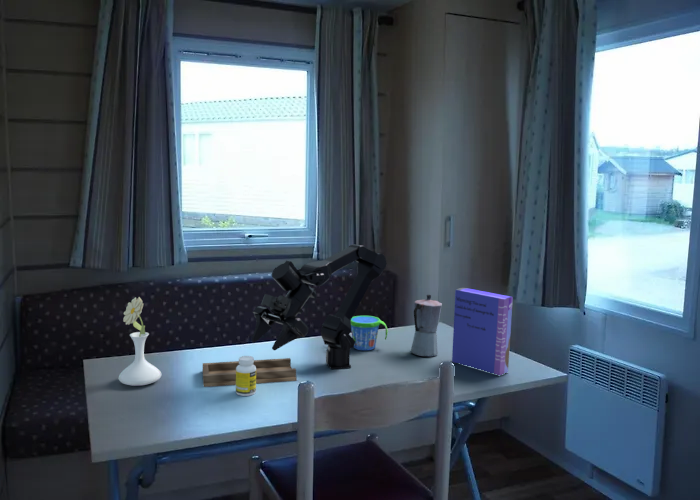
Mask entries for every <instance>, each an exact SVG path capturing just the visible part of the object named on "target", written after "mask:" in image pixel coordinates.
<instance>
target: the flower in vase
mask: <svg viewBox="0 0 700 500" xmlns="http://www.w3.org/2000/svg"><path fill="white" fill-rule="evenodd" d="M143 307H144V303H143V300H142V298H141V297H140V296H138V298H137V297H134V298H133V299H131V302H128V303H127V306H126V307H125V308H126V309H125V311H124V312H123V315H124V316H123V320H122V321H123V322H124V323H125V325H126V326H127V325H128V326H129V325H130V324H132V326H133V327H134V328H135V329H136V330H139V331H136V332H132V333H130V334H129V337H130V338H131V340H132V342H133V344H134V350H135V354H134V355H135V358H134V360H133V362H132V363H130V364H129V365H128V366H126V368H124V369H123V370H122V371H121V373H119V376H118V380H119V382H120V383H121V384H123V385H128V386H133V387H134V386H135V387H136V386H137V387H138V386H145V385H150V384H153V383H155V382H158V381H159V380H160V378H162V372H161V370H160V369H158V368H157V367H156V365H153V364H151V363H150V362H149V361H147V360H146V357H145V353H144V352H145V343H146V340H147V338H148V336H149V335H150V333H149V332H146V330H145V328H146V325H144V322H143V320H142V317H141V313H142V310H143ZM138 318H139V320H140V323H141V324H140V323H138V321H137V320H138Z"/></svg>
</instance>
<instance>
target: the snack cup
mask: <svg viewBox="0 0 700 500" xmlns="http://www.w3.org/2000/svg"><path fill="white" fill-rule="evenodd" d="M380 325H382V326H384V328H385V338H384V340H387V338H388V332H389V331H388V330H389V329H388V327H387V324H386V323H385V322H384V321H382V320H381V319H380V318H379V317H378V316H373V315H356V316H355V315H354V316H353V317H352V319H351V331H350V333H351V337H352V338H353V339H354V340H355V344H354V349H356V350H358V351H371V350H374V349H375V348H376V345H377V339H378V334H379V326H380Z"/></svg>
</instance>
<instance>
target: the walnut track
mask: <svg viewBox="0 0 700 500" xmlns="http://www.w3.org/2000/svg"><path fill="white" fill-rule="evenodd" d="M291 360H292V359H291V358H290V357H289V358H288V357H287V358H286V357H285V358H271V359H254V363H253V365H255V366H256V384H267V383H268V384H269V383H280V382H295V381H296V382H297V381H298V380H297V379H298V378H297V369H296V368H295V367H294V368H292V366H291V365H292V363H291ZM238 365H240V364H239V360H237V361H236V360H235V361H233V360H232V361H219V362H202V383H203V384H202V385H203V388H207V387H210V388H211V387H225V386H236V367H237V366H238Z"/></svg>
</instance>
